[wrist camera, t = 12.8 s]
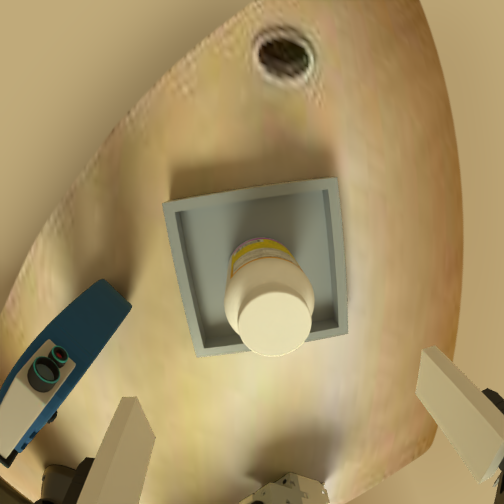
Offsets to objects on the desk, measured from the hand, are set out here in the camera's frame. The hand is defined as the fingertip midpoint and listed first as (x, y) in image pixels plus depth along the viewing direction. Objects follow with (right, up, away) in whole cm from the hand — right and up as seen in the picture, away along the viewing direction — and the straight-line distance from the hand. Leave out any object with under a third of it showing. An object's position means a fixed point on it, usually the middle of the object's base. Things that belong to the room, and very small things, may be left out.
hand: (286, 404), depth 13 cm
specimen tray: (-1, +5, +20) cm, 21 cm away
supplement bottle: (-1, +5, +19) cm, 20 cm away
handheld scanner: (-20, -1, +21) cm, 29 cm away
